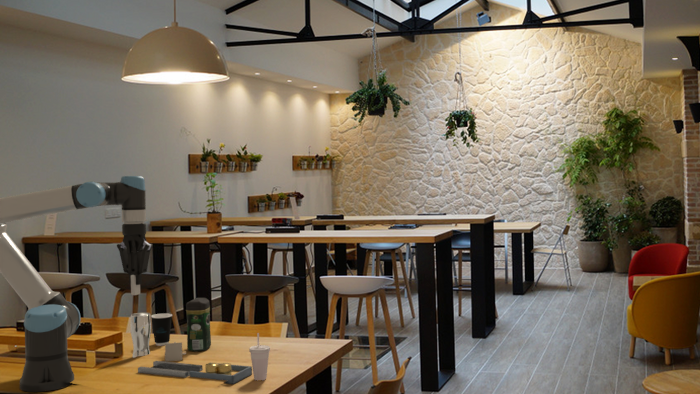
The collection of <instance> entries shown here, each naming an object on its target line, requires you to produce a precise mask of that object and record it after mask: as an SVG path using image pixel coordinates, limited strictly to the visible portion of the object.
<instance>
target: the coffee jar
mask: <svg viewBox="0 0 700 394" xmlns="http://www.w3.org/2000/svg"><path fill="white" fill-rule="evenodd" d="M185 307H186V308H185V311H186V325H187V327H186V328H187V329H186V332H187V333H186V338H187V340H186V341H187V342H186V343H187V345H186V346H187V347H186V348H187V351H189V352H190V351H191V352H200V351H207V350H208V349H209V348H210V347H211V346H212V338H211V336H212V335H211V317H210V316H211V314H210V311H211V303H210V300H209V299H208V298H206V297H196V298H194V299H192V300H190V301H188V302H186V304H185Z"/></svg>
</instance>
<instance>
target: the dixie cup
mask: <svg viewBox="0 0 700 394" xmlns="http://www.w3.org/2000/svg"><path fill="white" fill-rule="evenodd" d="M172 317H173V314H172V313H166V312H165V313H164V312H163V313H157V314H156V313H155V314H152V315H150V318H151V326H152V332H153V338H154V339H153V340H154V343H155V345H156V346H161V347H162V346H165V344H167V343H170V340H171V339H170V338H171V328H172Z"/></svg>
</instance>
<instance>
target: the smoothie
mask: <svg viewBox="0 0 700 394" xmlns="http://www.w3.org/2000/svg"><path fill="white" fill-rule="evenodd" d="M256 337H257V338H256V339H257V341H256V343H257V345H252V346H250V347H249V348H248V349H249V353H250V360H251V367H252V375H253V380H254V381H256V380H257V381H258V380H262V381H265V379H266V380H267V378H268V365H269V358H270V356H269V355H270V351H271V346H269V345H264V344H261V345H260V333H259V332H257V333H256Z"/></svg>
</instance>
